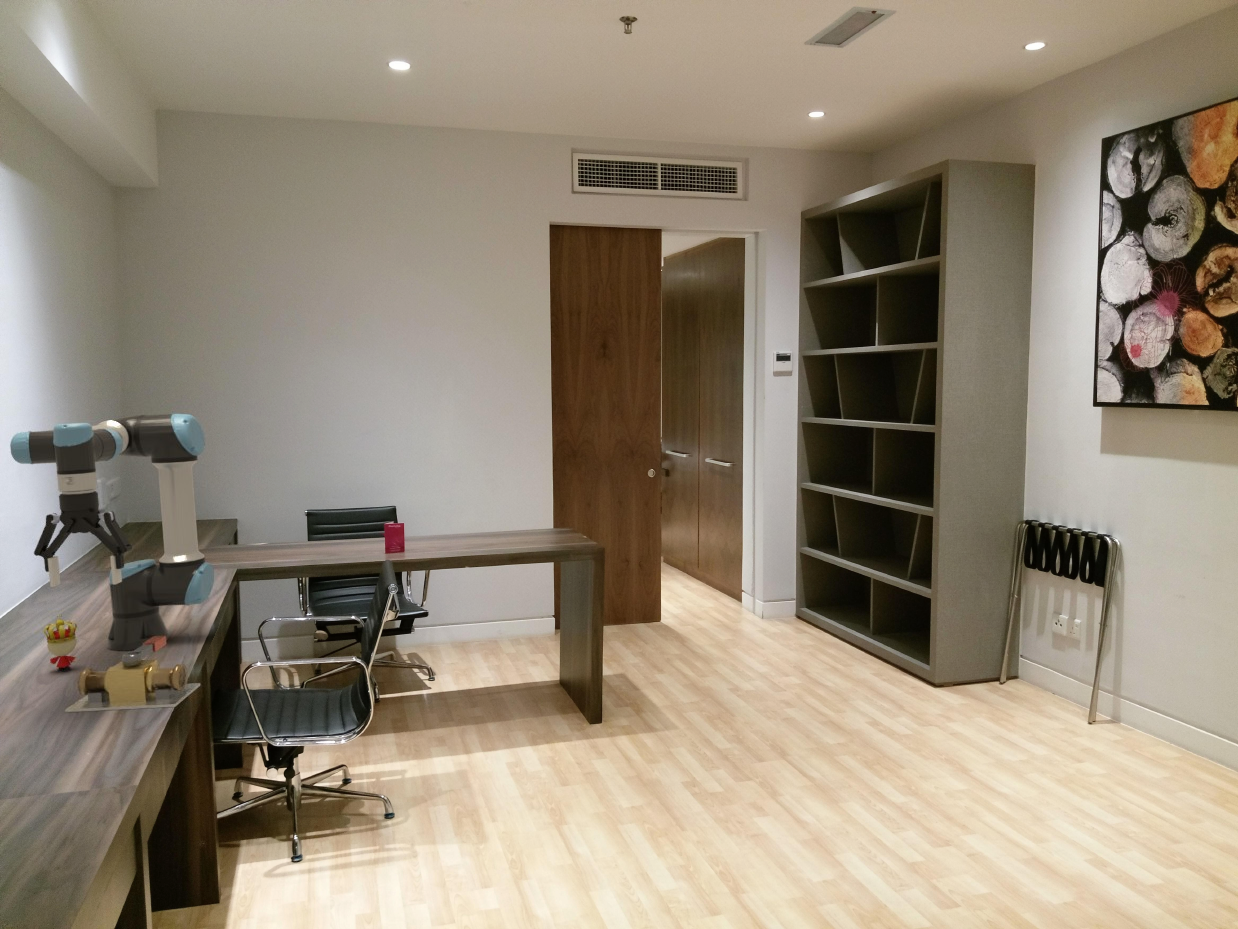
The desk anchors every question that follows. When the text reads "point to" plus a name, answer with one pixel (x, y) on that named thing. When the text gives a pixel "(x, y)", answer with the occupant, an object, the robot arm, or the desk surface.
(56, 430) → the robot arm
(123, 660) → the lever
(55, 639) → the toy
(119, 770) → the desk surface
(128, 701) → the valve body
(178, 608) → the desk surface
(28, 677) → the desk surface
